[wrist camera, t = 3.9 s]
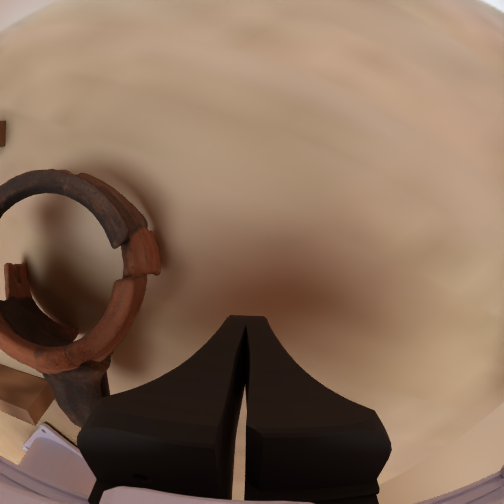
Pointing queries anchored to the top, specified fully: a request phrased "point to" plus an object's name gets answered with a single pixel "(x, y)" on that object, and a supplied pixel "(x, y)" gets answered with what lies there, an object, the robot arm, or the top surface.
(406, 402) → the top surface
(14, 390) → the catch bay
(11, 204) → the brown ring with stem
